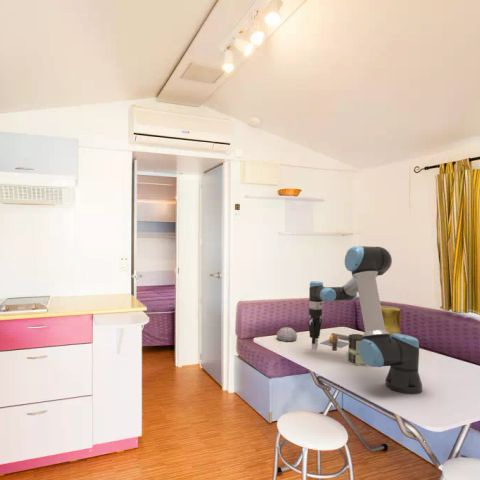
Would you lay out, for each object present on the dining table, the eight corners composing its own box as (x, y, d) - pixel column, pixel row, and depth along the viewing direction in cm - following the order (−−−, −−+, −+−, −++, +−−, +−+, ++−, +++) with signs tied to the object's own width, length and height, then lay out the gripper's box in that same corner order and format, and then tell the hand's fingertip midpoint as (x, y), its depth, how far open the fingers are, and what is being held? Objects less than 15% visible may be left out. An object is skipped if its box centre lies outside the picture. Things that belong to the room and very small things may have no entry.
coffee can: (345, 363, 204) (346, 336, 204) (350, 358, 213) (351, 333, 213) (365, 367, 199) (366, 339, 199) (369, 362, 208) (370, 335, 208)
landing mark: (340, 347, 234) (340, 347, 234) (319, 343, 243) (319, 343, 243) (350, 343, 244) (350, 343, 244) (329, 339, 253) (329, 339, 253)
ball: (340, 341, 245) (336, 346, 241) (331, 339, 249) (328, 343, 245) (339, 333, 243) (335, 338, 239) (331, 331, 247) (327, 336, 243)
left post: (316, 346, 235) (316, 331, 235) (312, 345, 237) (312, 331, 236) (318, 345, 237) (318, 331, 237) (314, 345, 239) (314, 330, 238)
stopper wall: (357, 342, 248) (357, 338, 248) (331, 337, 259) (331, 333, 259) (358, 341, 249) (358, 337, 249) (332, 336, 261) (332, 332, 261)
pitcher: (366, 341, 248) (370, 303, 247) (396, 344, 247) (399, 305, 246) (374, 350, 231) (378, 309, 230) (406, 353, 230) (410, 311, 229)
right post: (335, 351, 227) (336, 335, 227) (331, 350, 229) (331, 334, 228) (337, 350, 229) (337, 334, 229) (333, 349, 231) (333, 334, 230)
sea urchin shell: (276, 342, 244) (276, 329, 244) (276, 336, 257) (276, 324, 257) (297, 343, 243) (298, 330, 243) (296, 337, 256) (296, 325, 256)
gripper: (316, 310, 215) (314, 352, 215) (326, 307, 225) (325, 348, 225) (304, 308, 220) (302, 350, 220) (315, 306, 230) (314, 345, 230)
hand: (314, 349), depth 223 cm, fingers closed
